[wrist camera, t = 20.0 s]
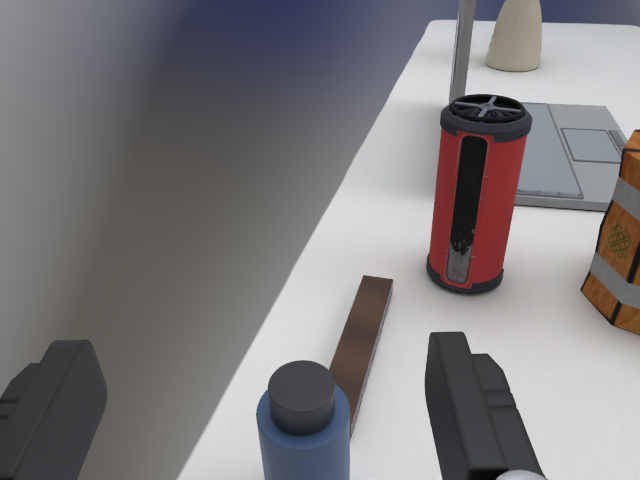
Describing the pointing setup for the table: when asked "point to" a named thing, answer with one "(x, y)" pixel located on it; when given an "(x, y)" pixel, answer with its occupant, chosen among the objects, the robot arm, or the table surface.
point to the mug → (619, 248)
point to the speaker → (476, 190)
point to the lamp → (516, 37)
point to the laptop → (555, 142)
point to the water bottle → (304, 425)
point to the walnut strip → (360, 340)
